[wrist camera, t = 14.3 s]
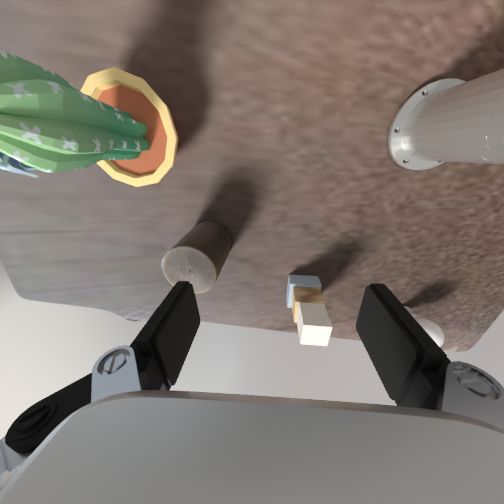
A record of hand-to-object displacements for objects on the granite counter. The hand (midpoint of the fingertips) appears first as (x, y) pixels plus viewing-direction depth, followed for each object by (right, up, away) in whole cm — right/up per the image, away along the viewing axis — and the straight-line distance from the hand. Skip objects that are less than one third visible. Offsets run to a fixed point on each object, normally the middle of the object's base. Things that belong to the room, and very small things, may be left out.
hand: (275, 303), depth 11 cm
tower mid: (+11, -8, +35) cm, 38 cm away
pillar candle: (-11, +6, +35) cm, 37 cm away
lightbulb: (+37, -11, +39) cm, 55 cm away
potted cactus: (-20, +24, +26) cm, 41 cm away
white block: (+11, -10, +30) cm, 34 cm away
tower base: (+11, -6, +38) cm, 40 cm away
